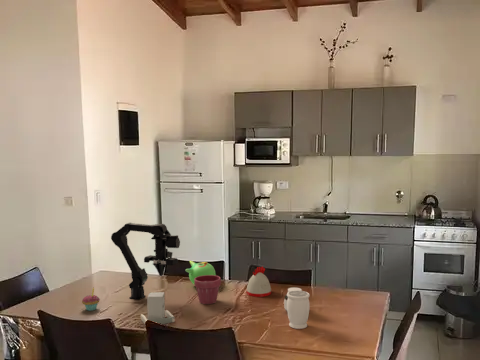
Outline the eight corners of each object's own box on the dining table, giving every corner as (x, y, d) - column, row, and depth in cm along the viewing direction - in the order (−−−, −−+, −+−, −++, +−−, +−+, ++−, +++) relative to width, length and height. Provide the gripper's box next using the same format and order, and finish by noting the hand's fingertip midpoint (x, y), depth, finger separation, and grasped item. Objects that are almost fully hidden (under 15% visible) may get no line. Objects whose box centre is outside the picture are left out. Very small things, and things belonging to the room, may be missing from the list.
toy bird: (214, 290, 269) (214, 265, 268) (185, 290, 269) (185, 265, 269) (216, 281, 287) (216, 257, 286) (189, 281, 287) (188, 258, 286)
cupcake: (103, 307, 241) (102, 284, 240) (92, 312, 233) (92, 289, 232) (89, 305, 244) (88, 283, 243) (78, 311, 236) (77, 287, 235)
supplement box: (163, 323, 219) (162, 296, 218) (147, 323, 218) (146, 296, 218) (165, 317, 226) (164, 291, 225) (150, 317, 226) (149, 292, 225)
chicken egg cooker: (276, 293, 261) (276, 267, 260) (256, 298, 254) (256, 271, 253) (261, 288, 273) (261, 262, 272) (241, 292, 265) (241, 266, 264)
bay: (140, 319, 224) (140, 314, 224) (167, 314, 230) (167, 310, 230) (146, 326, 214) (146, 322, 214) (174, 321, 220) (174, 317, 220)
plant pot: (199, 296, 257) (198, 273, 257) (223, 298, 254) (223, 275, 254) (191, 305, 243) (190, 281, 243) (217, 306, 241) (216, 282, 240)
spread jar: (290, 316, 225) (290, 293, 225) (278, 309, 235) (278, 287, 235) (310, 312, 231) (310, 289, 230) (297, 305, 241) (297, 283, 240)
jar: (284, 321, 218) (284, 290, 217) (306, 321, 219) (306, 289, 218) (289, 330, 208) (289, 297, 207) (311, 329, 209) (311, 296, 208)
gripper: (183, 246, 255) (183, 274, 256) (155, 243, 263) (155, 270, 264) (171, 250, 245) (172, 279, 246) (143, 247, 253) (143, 275, 254)
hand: (161, 275), depth 253 cm, fingers closed
